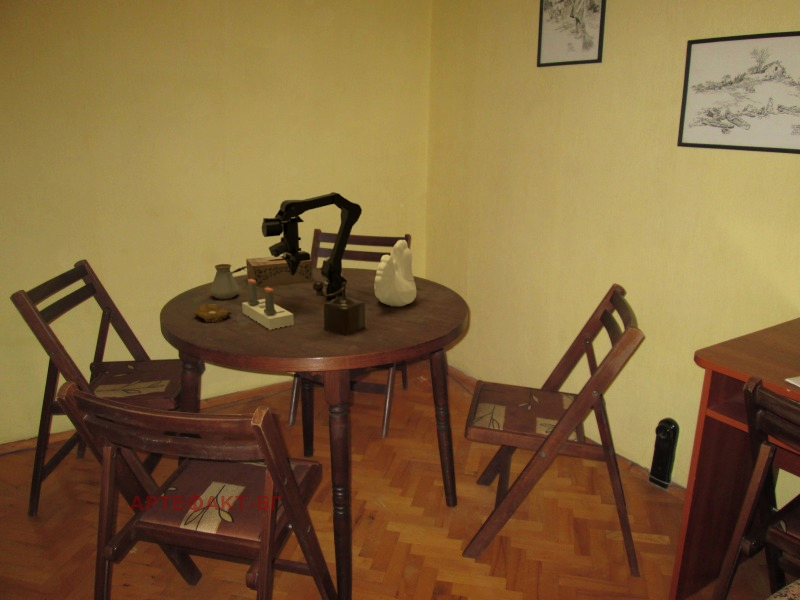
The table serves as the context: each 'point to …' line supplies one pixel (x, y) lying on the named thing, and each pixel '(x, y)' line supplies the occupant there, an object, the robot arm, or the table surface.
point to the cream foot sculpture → (396, 277)
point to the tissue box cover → (277, 271)
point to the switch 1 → (252, 292)
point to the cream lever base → (268, 321)
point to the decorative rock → (212, 313)
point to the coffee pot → (225, 282)
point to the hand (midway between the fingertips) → (292, 275)
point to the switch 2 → (269, 301)
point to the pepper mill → (341, 311)
